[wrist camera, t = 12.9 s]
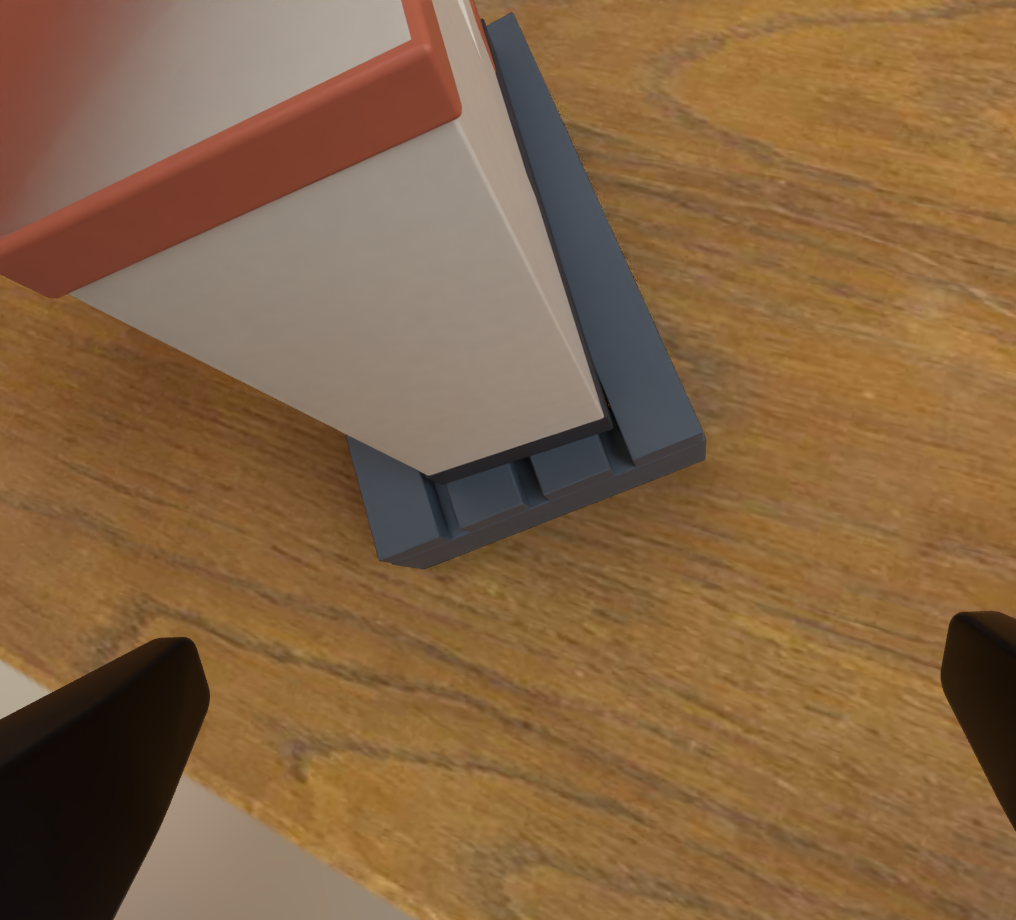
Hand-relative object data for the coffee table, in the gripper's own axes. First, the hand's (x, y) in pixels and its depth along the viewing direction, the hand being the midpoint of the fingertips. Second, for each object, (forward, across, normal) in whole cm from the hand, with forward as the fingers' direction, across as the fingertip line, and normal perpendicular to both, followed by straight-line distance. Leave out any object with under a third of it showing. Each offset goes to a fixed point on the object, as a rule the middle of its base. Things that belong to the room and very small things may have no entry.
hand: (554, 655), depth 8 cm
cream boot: (+15, +2, -4) cm, 15 cm away
